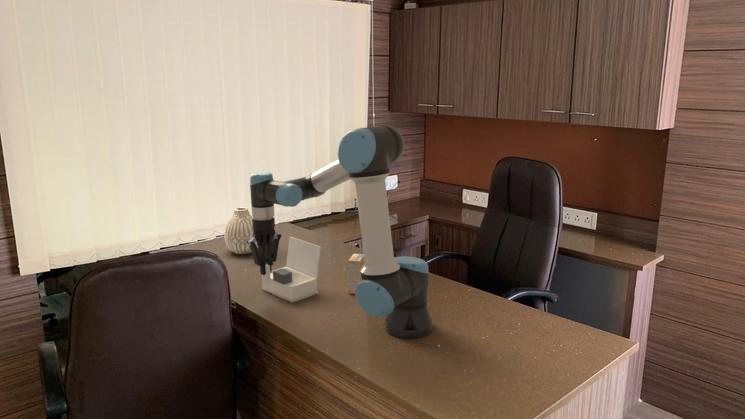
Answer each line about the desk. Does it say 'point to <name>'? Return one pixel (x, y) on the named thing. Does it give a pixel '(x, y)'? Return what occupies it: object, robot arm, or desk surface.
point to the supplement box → (355, 271)
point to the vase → (239, 231)
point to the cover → (303, 256)
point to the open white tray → (292, 286)
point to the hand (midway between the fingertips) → (266, 282)
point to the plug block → (282, 276)
